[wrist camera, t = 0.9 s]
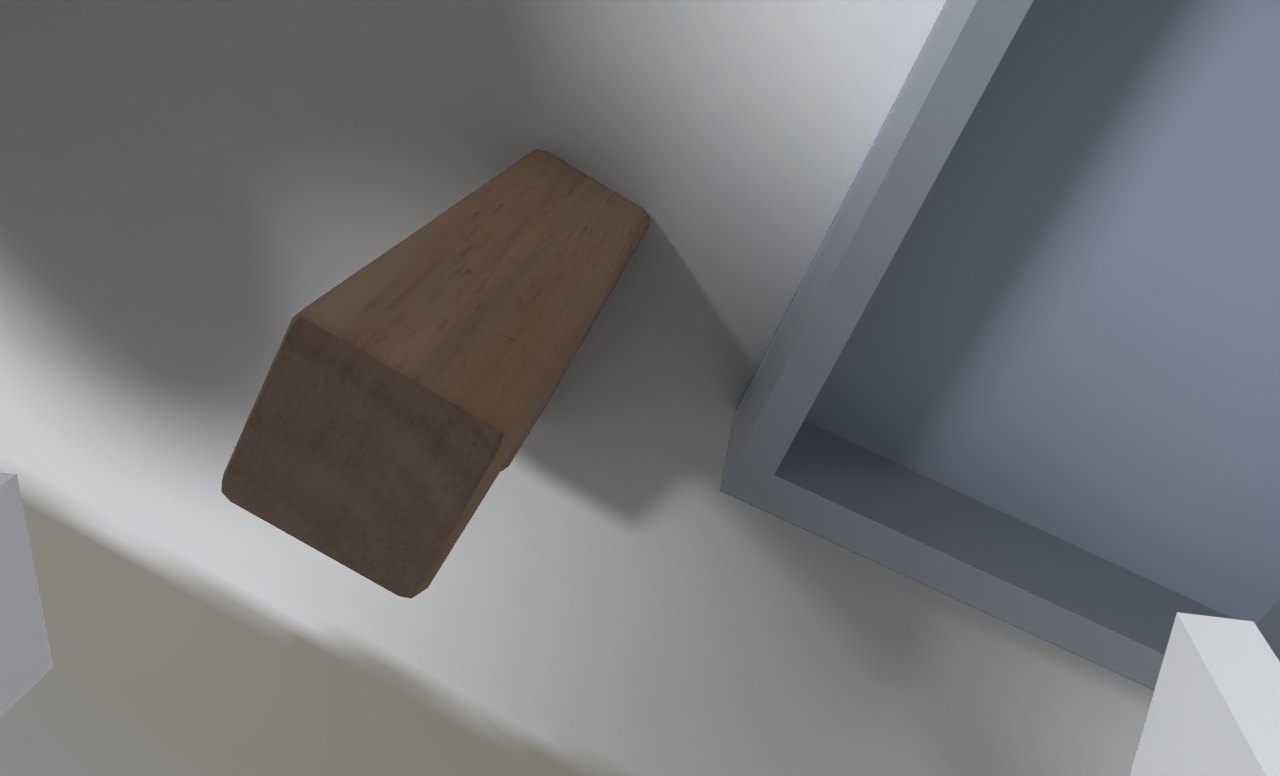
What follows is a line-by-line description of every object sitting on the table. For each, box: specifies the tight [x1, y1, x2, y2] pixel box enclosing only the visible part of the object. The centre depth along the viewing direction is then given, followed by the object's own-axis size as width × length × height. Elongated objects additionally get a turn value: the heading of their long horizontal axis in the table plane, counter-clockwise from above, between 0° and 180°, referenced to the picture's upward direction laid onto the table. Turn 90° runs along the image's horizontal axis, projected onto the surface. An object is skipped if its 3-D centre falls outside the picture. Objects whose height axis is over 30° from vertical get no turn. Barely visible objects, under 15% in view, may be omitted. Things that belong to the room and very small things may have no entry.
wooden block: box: [222, 150, 649, 598], centre depth 29 cm, size 9×4×18 cm, turn 150°
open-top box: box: [720, 0, 1280, 690], centre depth 31 cm, size 20×22×6 cm
